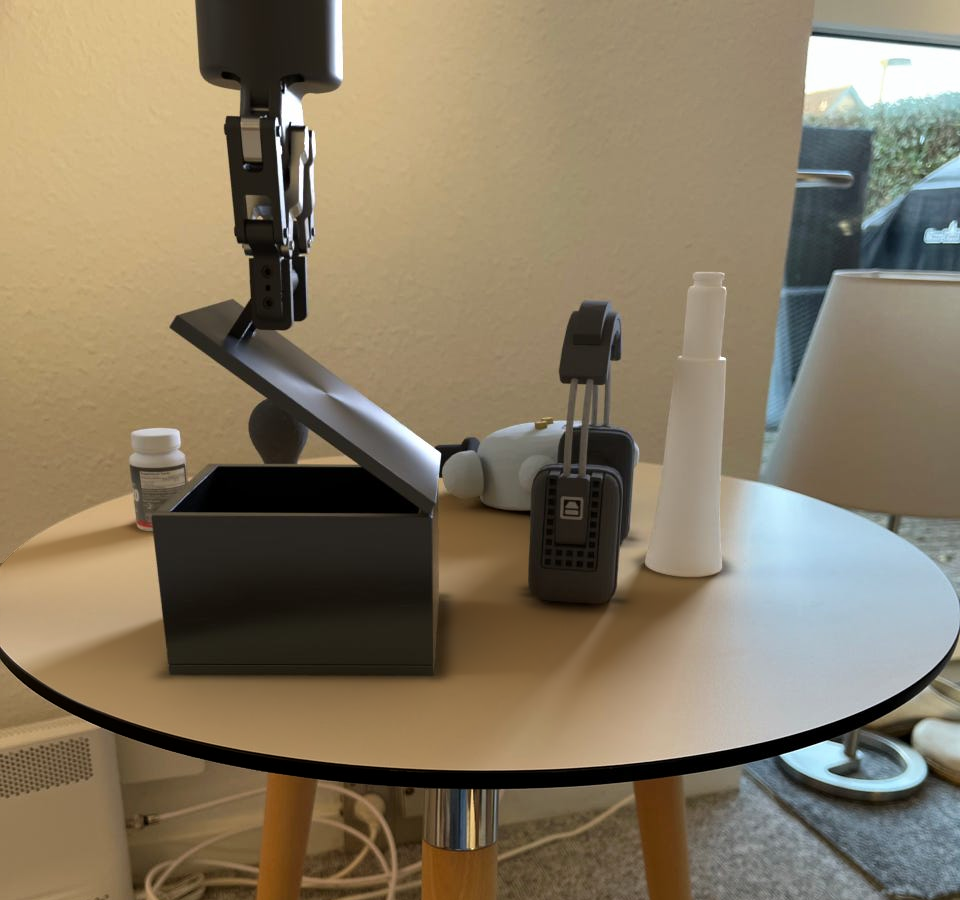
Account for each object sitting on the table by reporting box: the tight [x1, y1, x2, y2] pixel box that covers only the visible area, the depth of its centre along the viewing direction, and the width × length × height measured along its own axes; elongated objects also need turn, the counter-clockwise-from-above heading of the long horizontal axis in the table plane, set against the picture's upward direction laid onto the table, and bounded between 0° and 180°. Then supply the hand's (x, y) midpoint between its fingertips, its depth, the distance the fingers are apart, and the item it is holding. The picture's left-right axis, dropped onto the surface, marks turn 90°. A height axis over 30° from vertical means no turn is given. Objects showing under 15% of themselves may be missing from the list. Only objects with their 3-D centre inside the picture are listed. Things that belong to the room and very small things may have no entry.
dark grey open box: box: [151, 463, 440, 677], centre depth 65 cm, size 16×14×10 cm
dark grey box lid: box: [168, 265, 441, 514], centre depth 60 cm, size 17×14×5 cm
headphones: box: [527, 300, 635, 605], centre depth 77 cm, size 22×6×20 cm, turn 169°
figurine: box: [433, 416, 640, 512], centre depth 99 cm, size 17×8×20 cm
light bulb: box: [247, 398, 310, 464], centre depth 97 cm, size 6×6×10 cm
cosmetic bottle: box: [644, 271, 728, 578], centre depth 77 cm, size 6×6×22 cm
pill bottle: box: [128, 427, 189, 532], centre depth 89 cm, size 5×5×8 cm
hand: (281, 323), depth 59 cm, fingers closed on dark grey box lid, 5 cm apart
